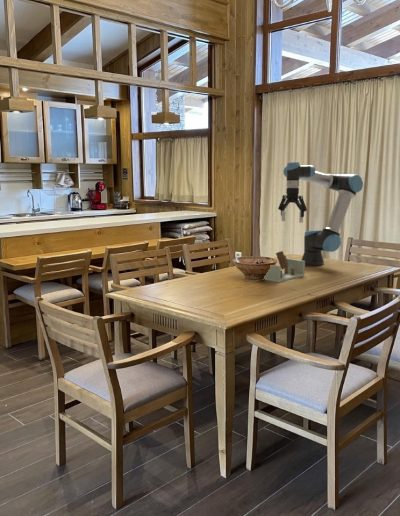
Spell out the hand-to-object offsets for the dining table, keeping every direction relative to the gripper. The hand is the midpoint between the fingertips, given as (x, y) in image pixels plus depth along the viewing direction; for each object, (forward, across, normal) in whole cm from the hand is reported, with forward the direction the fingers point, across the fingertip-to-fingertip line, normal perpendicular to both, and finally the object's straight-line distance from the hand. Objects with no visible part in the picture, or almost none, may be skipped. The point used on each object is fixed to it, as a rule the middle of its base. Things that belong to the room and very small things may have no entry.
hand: (292, 221), depth 306 cm
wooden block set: (+27, +5, -17) cm, 32 cm away
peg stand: (+32, +7, -17) cm, 37 cm away
